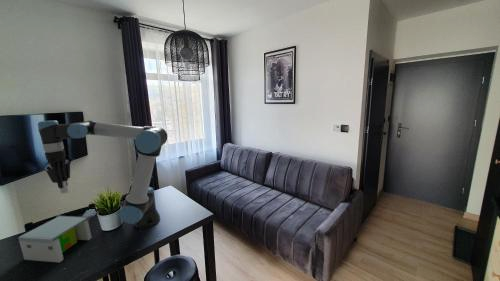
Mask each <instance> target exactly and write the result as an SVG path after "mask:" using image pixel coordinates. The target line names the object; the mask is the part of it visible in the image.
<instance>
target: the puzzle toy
mask: <svg viewBox="0 0 500 281" xmlns="http://www.w3.org/2000/svg"><path fill="white" fill-rule="evenodd" d="M57 238H59V241H60V246H61V250H62V254H63V253H64V252H66V251H67V250H68V249H70V248H71V247H73V246H74V245H75V244H77V243H78V240H77V238H76V234H75V229H74V227H73V228H72V229H70V230H68V231H67V232H65V233H63V234H62V235H60V236H58V237H57Z"/></svg>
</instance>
